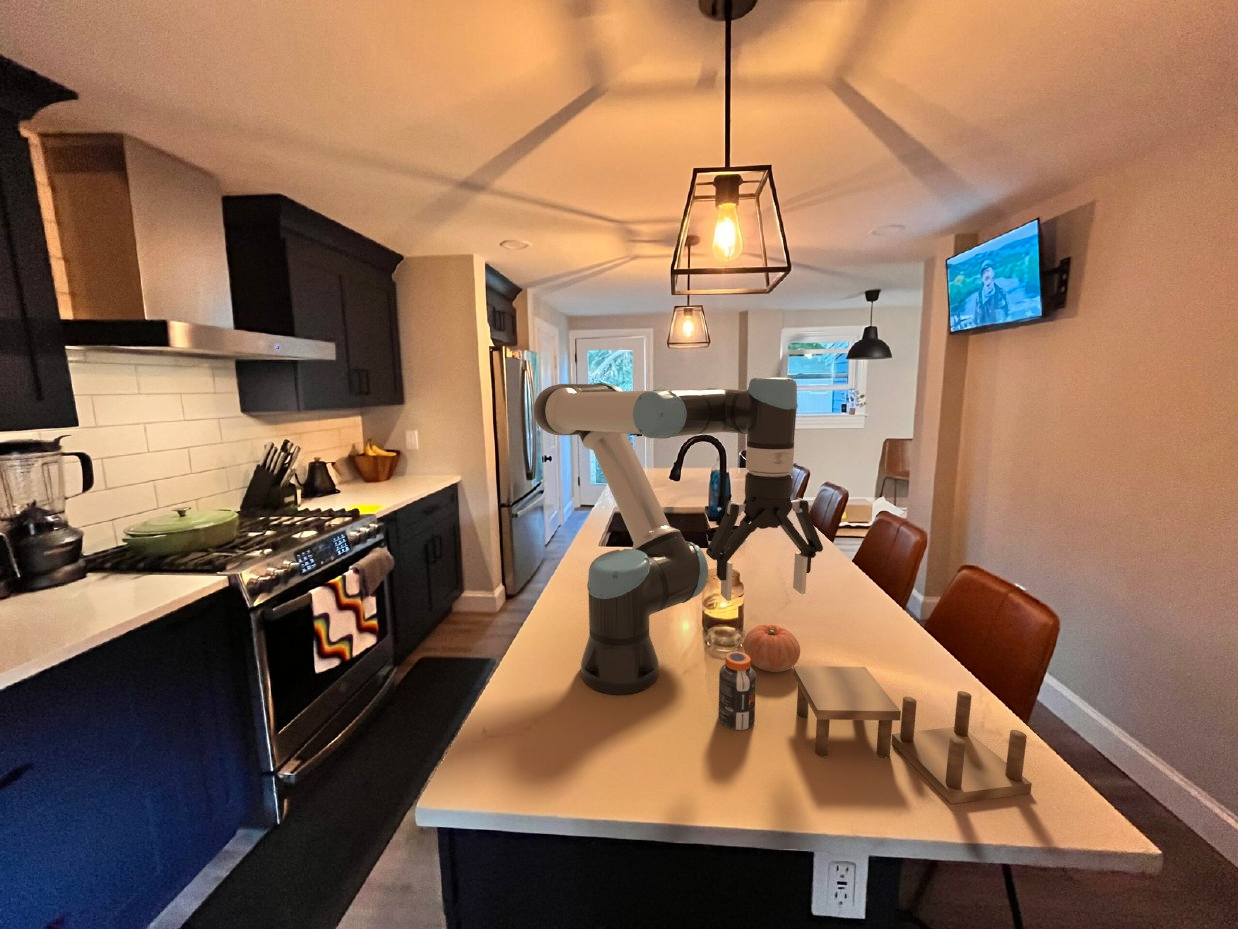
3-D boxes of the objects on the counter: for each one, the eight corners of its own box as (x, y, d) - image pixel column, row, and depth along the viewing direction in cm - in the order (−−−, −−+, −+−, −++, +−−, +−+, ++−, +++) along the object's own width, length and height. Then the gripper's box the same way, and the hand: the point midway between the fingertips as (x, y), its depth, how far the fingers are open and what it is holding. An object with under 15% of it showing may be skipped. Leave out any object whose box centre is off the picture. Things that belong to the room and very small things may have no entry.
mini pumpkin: (731, 664, 103) (732, 627, 102) (763, 646, 110) (764, 611, 109) (779, 688, 95) (780, 647, 94) (810, 667, 102) (811, 629, 100)
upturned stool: (950, 804, 68) (956, 749, 67) (891, 742, 80) (895, 695, 79) (1030, 793, 70) (1037, 740, 69) (960, 734, 82) (965, 688, 80)
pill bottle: (755, 733, 82) (757, 668, 81) (718, 729, 84) (719, 664, 82) (753, 711, 88) (755, 649, 87) (718, 707, 89) (719, 646, 88)
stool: (815, 759, 77) (817, 710, 75) (791, 709, 89) (793, 666, 87) (897, 760, 76) (900, 711, 75) (862, 710, 88) (865, 666, 87)
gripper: (705, 479, 79) (702, 609, 82) (850, 473, 83) (841, 596, 87) (689, 471, 86) (686, 591, 89) (823, 466, 91) (816, 580, 94)
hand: (763, 594), depth 88 cm, fingers open, 13 cm apart
